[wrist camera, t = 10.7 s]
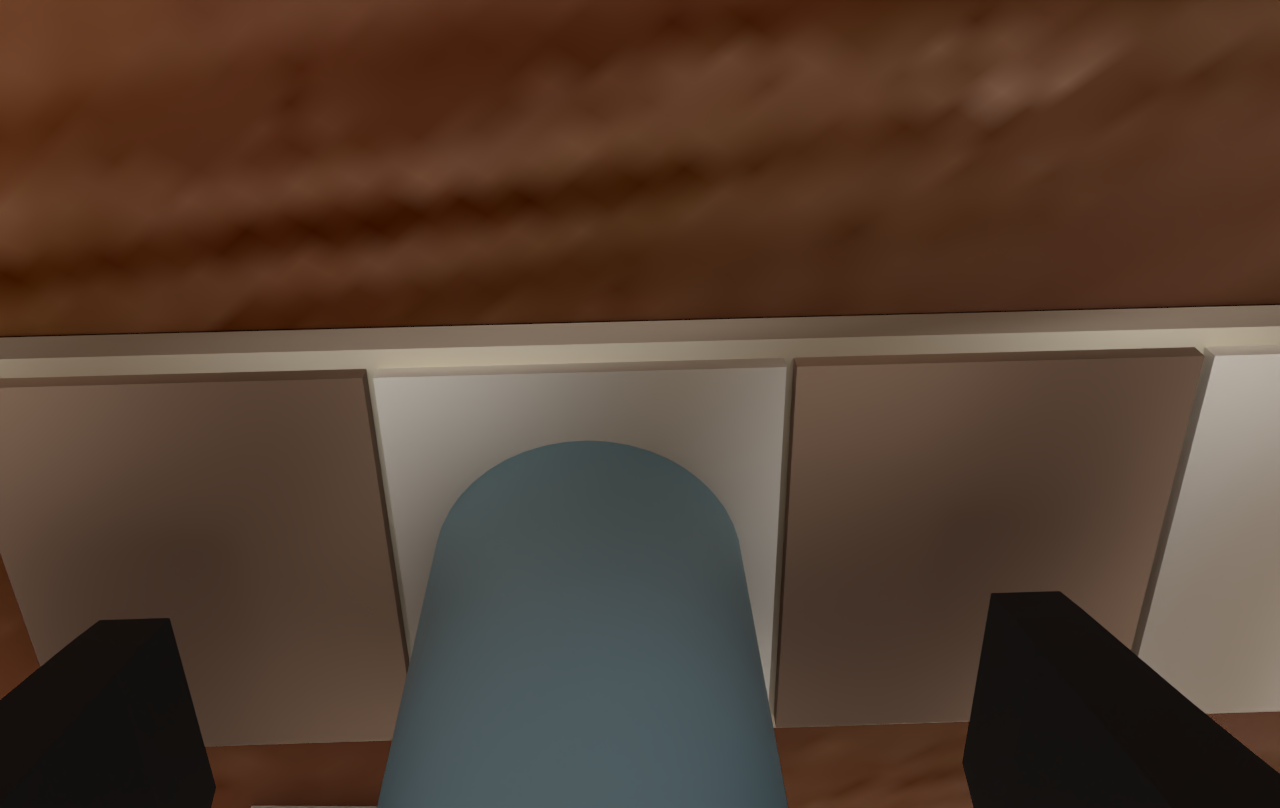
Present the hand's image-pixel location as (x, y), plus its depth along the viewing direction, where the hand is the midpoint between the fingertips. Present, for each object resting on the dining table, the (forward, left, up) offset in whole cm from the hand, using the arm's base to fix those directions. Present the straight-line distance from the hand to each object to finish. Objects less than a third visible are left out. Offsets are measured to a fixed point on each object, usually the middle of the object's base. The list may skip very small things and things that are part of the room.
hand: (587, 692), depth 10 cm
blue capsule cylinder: (0, 0, -2) cm, 2 cm away
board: (-2, 0, -2) cm, 3 cm away
